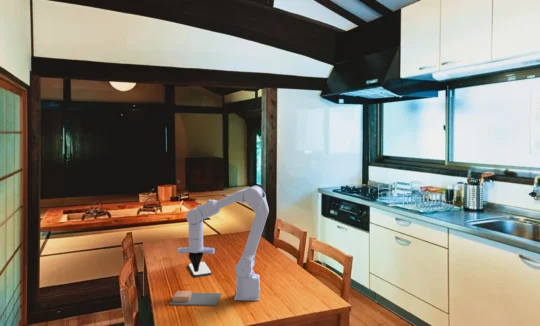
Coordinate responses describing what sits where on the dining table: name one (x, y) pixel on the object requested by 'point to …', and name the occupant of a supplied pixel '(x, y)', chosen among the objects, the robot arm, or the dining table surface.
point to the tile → (182, 296)
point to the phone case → (200, 270)
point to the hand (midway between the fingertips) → (196, 270)
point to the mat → (201, 300)
